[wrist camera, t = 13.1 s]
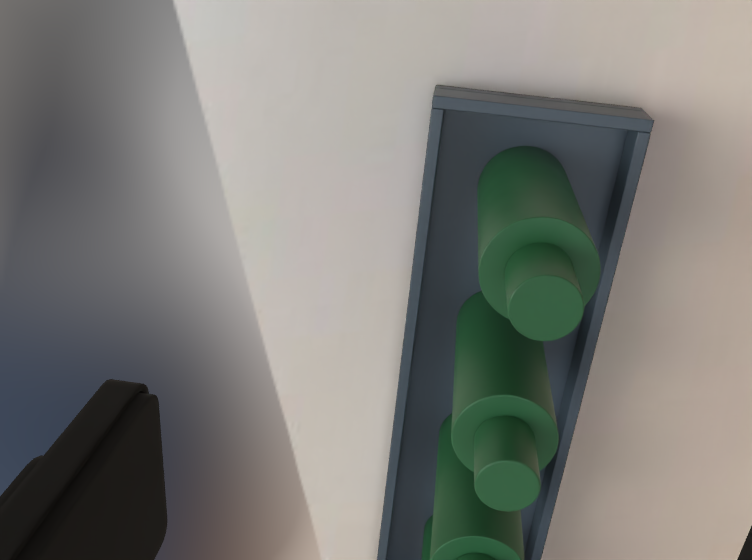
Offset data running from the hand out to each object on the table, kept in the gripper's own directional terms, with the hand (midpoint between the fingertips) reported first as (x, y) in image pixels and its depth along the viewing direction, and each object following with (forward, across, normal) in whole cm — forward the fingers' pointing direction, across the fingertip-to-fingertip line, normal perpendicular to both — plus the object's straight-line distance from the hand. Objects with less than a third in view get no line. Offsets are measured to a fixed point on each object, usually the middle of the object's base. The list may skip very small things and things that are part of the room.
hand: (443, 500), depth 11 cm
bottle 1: (+27, -3, +12) cm, 30 cm away
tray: (+28, -3, +16) cm, 32 cm away
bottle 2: (+27, -3, +20) cm, 34 cm away
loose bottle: (+27, -4, +4) cm, 28 cm away
